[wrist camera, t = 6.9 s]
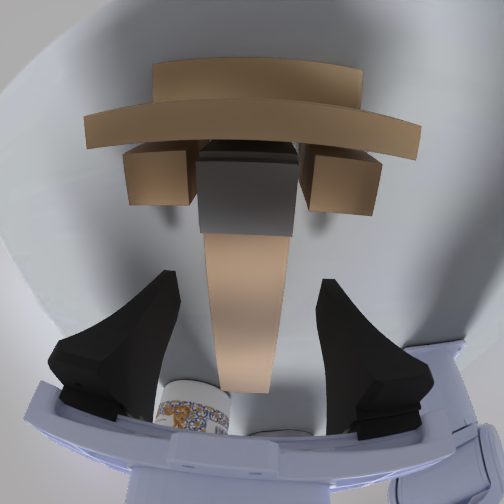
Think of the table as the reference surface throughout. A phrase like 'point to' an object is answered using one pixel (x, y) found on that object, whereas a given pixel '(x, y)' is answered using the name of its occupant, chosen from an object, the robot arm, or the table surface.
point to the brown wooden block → (246, 251)
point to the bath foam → (194, 407)
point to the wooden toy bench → (255, 128)
